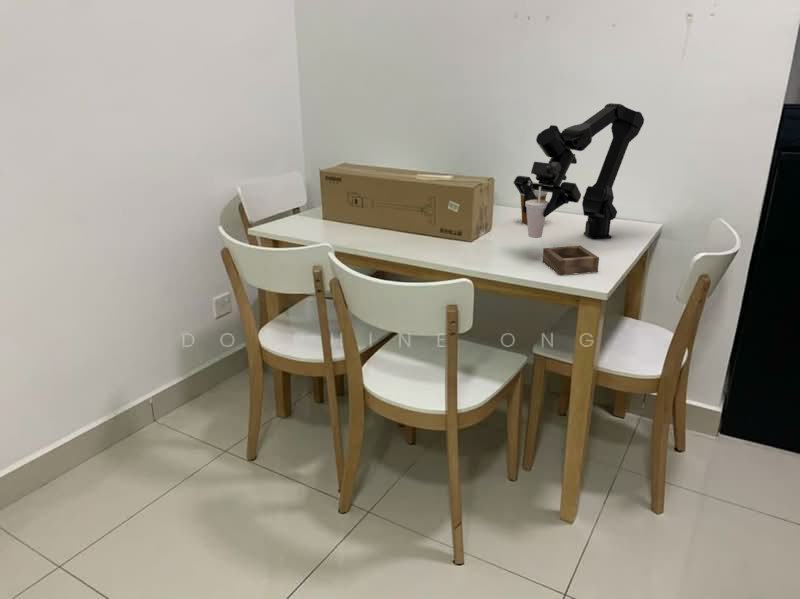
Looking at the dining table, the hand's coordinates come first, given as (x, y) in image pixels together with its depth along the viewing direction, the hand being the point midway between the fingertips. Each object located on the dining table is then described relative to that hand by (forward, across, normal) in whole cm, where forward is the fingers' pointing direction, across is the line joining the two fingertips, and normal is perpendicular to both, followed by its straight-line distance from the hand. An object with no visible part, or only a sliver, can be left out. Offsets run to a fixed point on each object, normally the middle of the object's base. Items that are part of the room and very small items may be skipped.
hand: (533, 214), depth 168 cm
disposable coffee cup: (-14, -21, +33) cm, 42 cm away
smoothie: (+4, 0, +6) cm, 7 cm away
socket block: (+8, +11, +10) cm, 17 cm away
